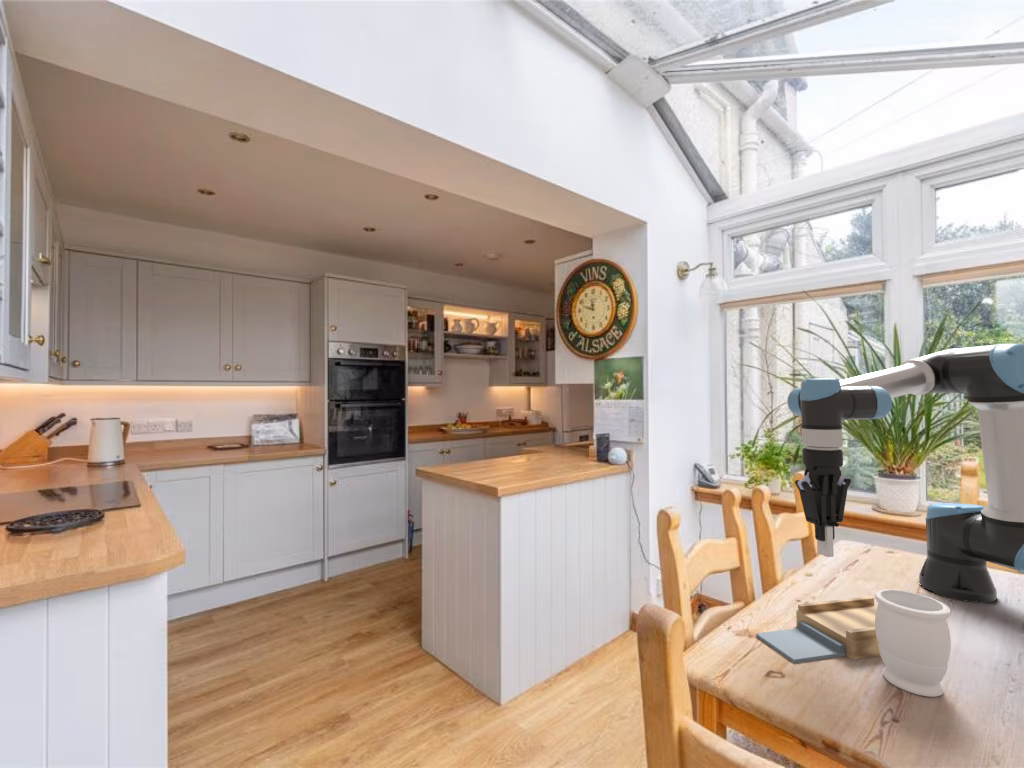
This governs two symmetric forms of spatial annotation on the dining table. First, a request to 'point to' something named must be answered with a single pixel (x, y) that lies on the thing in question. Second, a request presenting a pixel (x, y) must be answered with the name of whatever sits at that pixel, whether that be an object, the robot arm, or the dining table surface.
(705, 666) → the dining table surface
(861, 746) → the dining table surface
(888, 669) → the jar
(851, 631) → the slide box
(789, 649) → the cover plate
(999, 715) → the dining table surface
